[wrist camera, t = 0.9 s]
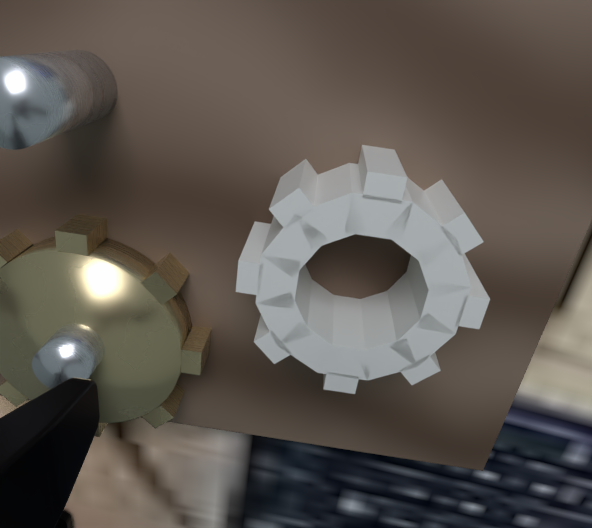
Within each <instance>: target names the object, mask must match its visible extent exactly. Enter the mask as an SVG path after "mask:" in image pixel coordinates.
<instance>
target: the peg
mask: <svg viewBox="0 0 592 528" xmlns="http://www.w3.org/2000/svg"><path fill="white" fill-rule="evenodd" d="M116 100H117V84H116V80H115V77H114V75H113V73H112V71H111V69H110V68H109V66H108V65H107V64H106V63H105V62H104V61H103V60H102V59H101V58H100V57H98V56H97V55H95V54H93V53H91V52H89V51H85V50H66V51H55V52H44V53H34V54H23V55H12V56H1V57H0V147H1V148H5V149H10V150H19V149H24V148H27V147H29V146H32V145H35V144H37V143H40V142H42V141H45V140H47V139H50V138H52V137H55V136H57V135H60V134H63V133H65V132H68V131H70V130H73V129H75V128H78V127H80V126H83V125H85V124H88V123H90V122H93V121H96V120H98V119H101V118H103V117H105V116H106V115H108V114H109V113H110V112H111V111H112V109H113V108H114V106H115V103H116Z"/></svg>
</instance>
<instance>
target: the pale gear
mask: <svg viewBox="0 0 592 528" xmlns="http://www.w3.org/2000/svg"><path fill="white" fill-rule="evenodd" d="M269 210H270V212H271V213H272V214H273V215H274V217H273V220H272V223H271V224H268V223H262V222H254V225H253V227H252V229H251V232H250V234H249V236H248V239H247V241H246V244H245V246H244V248H243V251H242V253H241V256H240V258H239V260H238V270H237V282H236V292H240V293H246V294H253V295H256V305H257V307H258V309H259V311H260V313H261V316H260V319H259V323H258V327H257V331H256V335H255V338H254V343H255V344H256V345H257V346H258V347H259V348H260V349H261V350H262V351H263V353H264V354H265V355H266V356H267V357H268V358H269V359H270V360H271V361H272V362H273V363H274V364H275V363H277V362H279V361H281V360H282V359H284V358H286V357H287V356H289V355H292V356H293V357H295V358H296V359H298V360H299V361H301V362H302V363H304V364H305V365H307V366H308V367H310V368H311V369H313V370H314V371H315V372H317V373H322V374H324V383H323V389H325V390H331V391H338V392H344V393H350V394H355V392H356V388H357V384H358V380H359V379H361V380H367V381H368V380H372V379H375V378H379V377H383V376H386V375H390V374H394V373H398V372H401V373H402V374H403V375H404V377H405V378H406V379H407V380H408V382H409V383H410V384H411V385H414V384H416V383H418V382H420V381H422V380H423V379H425V378H427V377H429V376H431V375H433V374H435V373H437V372H439V371H441V370H440V367H439V363H438V360H437V357H436V353H435V352H436V351H437V350H438V349H439V348H440V347H441V346H442V345H444V344H445V343H446V342H447V341H448V340H449V339H451V338H452V337H453V336H454V335H455V334H456V332H457V329H458V326H461V327H467V328H474V329H480V326H481V323H482V321H483V318H484V315H485V312H486V310H487V307H488V304H489V301H490V298H489V296H488V294H487V293H486V291H485V289H484V287H483V285H482V284H481V282H480V280H479V278H478V277H477V275H476V273H475V271H474V269H473V268H472V266H471V264H470V262H469V260H468V259H467V257H466V255H465V253H466V252H468V251H469V250H471V249H473V248H474V247H476V246H478V245H480V244H481V243H483V240H482V238H481V237H480V235H479V234H478V232H477V231H476V229H475V228H474V226H473V225H472V223H471V222H470V220H469V218H468V217H467V215H466V214H465V212H464V211H463V209H462V208H461V206H460V205H459V204H458V202H457V201H456V199H455V198H454V196H453V195H452V193H451V192H450V190H449V189H448V187H447V186H446V185H445V183H444V182H443V180H442V179H441V180H440V181H438V182H437V183H435V184H433V185H432V186H430V187H429V188H427V189H426V190H422V189H421V188H420V187H419V186H418V185H416V184H415V183H414V182H413V181H411V180H410V179H409V178H408V177H407V175H406V173H405V171H404V169H403V167H402V165H401V162H400V160H399V158H398V156H397V154H396V152H395V150H393V149H387V148H380V147H373V146H367V145H362V147H361V152H360V157H359V162H358V164H354V163H347V164H345V165H342V166H340V167H337V168H334V169H332V170H329V171H326V172H324V173H321V174H317V173H316V171H315V170H314V169H313V167H312V166H311V165H310V163H309V162H308V161H307V159H305V160H303V161H302V162H301V163H299V164H298V165H296V166H295V167H294V168H292V169H291V170H290V171H288V172H287V173H286V174H284V175H283V176H282V177H281V178H280V180H279V183H278V186H277V188H276V191H275V194H274V196H273V199H272V202H271V204H270V207H269ZM354 234H358V235H365V236H371V237H378V238H384V239H391V240H393V241H394V242H395V243H397V244H398V245H399V246H400V247H402V248H403V249H404V250H406V251H407V252H408V253H409V254H411V257H410V261H409V264H408V268H407V272H406V273H405V274H404V275H403V276H402V277H401V278H400V279H399V280H398V281H397V282H396V283H395V284H394V285H393V286H392V287H391V288H390V289H389V290H387V291H385V292H382V293H379V294H375V295H372V296H369V297H366V298H362V299H357V298H350V297H344V296H337V295H333V294H332V293H330V292H329V291H327V290H326V289H325V288H323V287H322V286H320V285H319V284H318V283H316V282H315V281H314V280H312V278H311V276H310V274H309V272H308V269H307V267H306V265H305V264H306V262H307V261H308V260H309V259H310V258H311V257H312V256H313V255H314V253H315V252H316V251H317V250H318V249H319V248H320V247H321V246H322V245H325V244H328V243H331V242H334V241H337V240H340V239H343V238H346V237H348V236H351V235H354Z"/></svg>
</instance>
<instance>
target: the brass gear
mask: <svg viewBox="0 0 592 528" xmlns="http://www.w3.org/2000/svg"><path fill="white" fill-rule="evenodd" d="M107 237H108V234H107V218H101V217H95V216H88V215H82V214H77V215H75V216H74V217H73V218H71V219H70V220H69V221H67V222H66V223H64V224H63V225H62V226H60V227H59V228H58V229H56V230H55V236H54V237H51V238H47V239H44V240H42V241H40V242H38V243H36V244H34V245H32V244H33V243H32V242H31V241H30V240H29V239H28V238H27V237H25V236H24V235H23V234H22V233H21V232H20V231H19V230H18V229H16V230H15V231H13V232H11V233H10V234H8V235H7V236H5V237H4V238H2V239H0V374H1V375H2V376H3V377H4V378H5V380H4V381H3V382H2V383H1V384H0V394H1V395H2V396H4V397H5V398H6V399H7V400H9V401H10V402H11V403H12V404H13V405H15V406H16V407H17V406H18V405H19V404H21V403H22V402H24V401H25V400H27V399H30V400H33V399H34V398H36V397H38V396H40V395H41V394H43V393H45V392H47V391H48V390H50V389H52V388H53V387H55V386H57V385H59V384H60V383H62V382H64V381H66V380H67V379H70V378H75V377H76V378H83V379H90V380H93V381H95V382H96V384H97V388H98V400H99V411H100V420H99V425H98V428H97V431H96V433H95V436H97V437H100V435H101V434H102V432H103V430H104V428H105V427H106V425H107V423H115V422H123V421H127V420H132V419H135V418H138V417H141V416H142V417H143V418H144V419H145V420H146V421H147V422H148V423H150V424H151V425H152V426H153V427H154V428H157V427H158V426H160V425H162V424H164V423H165V422H167V421H169V420H170V419H172V418H174V416H175V413H176V411H177V409H178V406H179V404H180V401H181V399H182V397H183V394H184V392H185V390H184V389H183V388H182V387H181V386H180V385H179V384H178V383H177V380H178V378H179V376H180V374H181V372H182V373H188V374H195V375H201V372H202V370H203V367H204V365H205V362H206V359H207V357H208V354H209V352H210V345H211V330H212V328H206V327H199V326H193V327H192V322H191V317H190V313H189V310H188V307H187V304H186V302H185V300H184V298H183V296H182V294H181V293H180V291H179V290H180V288H181V287H182V285H183V283H184V282H185V280H186V278H187V277H188V275H189V272H188V271H187V270H186V269H185V268H184V267H183V265H182V264H181V263H180V262H179V261H178V260H177V259H176V258H175V257H174V256H173V255H172V254H171V253H168V254H167V255H166V256H164V257H163V258H162V259H160V260H159V261H158V262H156V263H154V262H153V261H152V260H150V259H149V258H148V257H146V256H145V255H143V254H142V253H140V252H138V251H137V250H135V249H133V248H131V247H129V246H127V245H125V244H123V243H121V242H118V241H115V240H112V239H109V238H107ZM31 245H32V246H31ZM30 246H31V247H30ZM29 247H30V248H29ZM26 249H27V250H26Z"/></svg>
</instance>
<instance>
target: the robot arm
mask: <svg viewBox="0 0 592 528" xmlns="http://www.w3.org/2000/svg"><path fill="white" fill-rule="evenodd" d="M99 420H100V411H99V400H98V388H97V384H96V382H95V381H93V380H90V379H83V378H76V377H75V378H70V379H67V380H66V381H64V382H62V383H60V384H59V385H57V386H55V387H53V388H52V389H50V390H48V391H47V392H45V393H43V394H41V395H40V396H38V397H36V398H34V399H33V400H31V401H29V402H27V403H26V404H24V405H22V406H21V407H19V408H17V409H15V410H14V411H12V412H10V413H8V414H7V415H5V416H3V417H2V418H0V528H72V525H71V517H70V515H69V514H68V513H67V512H65V511H63V510H64V508H65V505H66V503H67V501H68V498H69V496H70V494H71V491H72V489H73V486H74V484H75V482H76V479H77V477H78V474H79V472H80V469H81V467H82V465H83V462H84V460H85V457H86V455H87V453H88V450H89V448H90V445H91V443H92V440H93V438H94V436H95V433H96V431H97V428H98V425H99Z"/></svg>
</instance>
